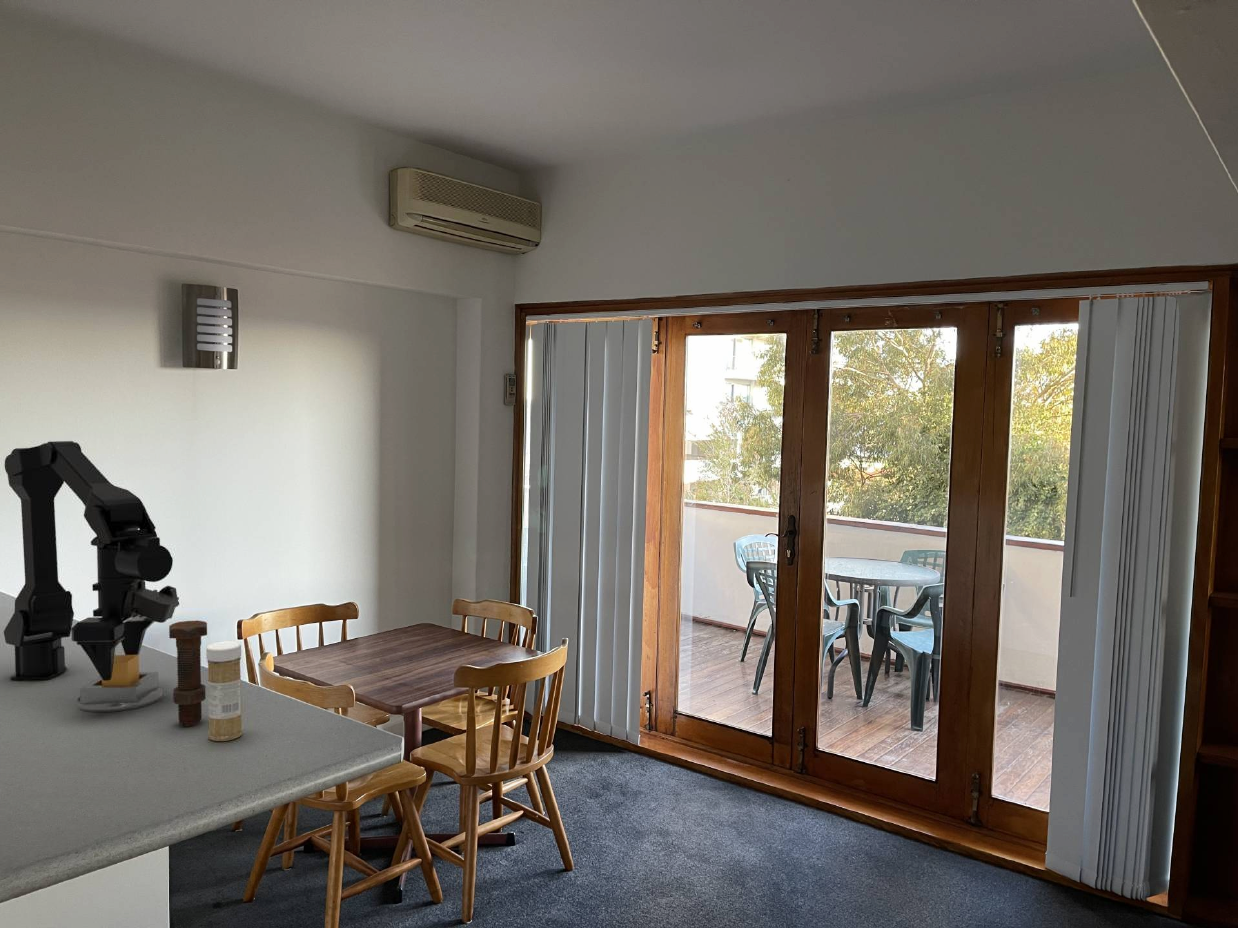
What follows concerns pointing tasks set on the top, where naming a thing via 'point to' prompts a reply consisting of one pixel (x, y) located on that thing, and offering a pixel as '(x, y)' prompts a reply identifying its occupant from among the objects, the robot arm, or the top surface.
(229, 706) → the spice jar
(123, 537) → the robot arm
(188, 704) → the bolt
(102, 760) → the top surface
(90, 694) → the rosette collar
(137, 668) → the orange rectangular block
